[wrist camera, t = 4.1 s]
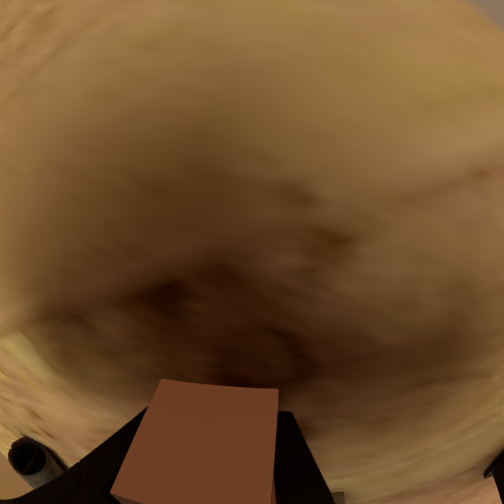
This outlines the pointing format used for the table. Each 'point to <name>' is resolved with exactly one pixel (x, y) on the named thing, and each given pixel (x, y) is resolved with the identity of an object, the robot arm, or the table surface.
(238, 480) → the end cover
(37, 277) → the table surface
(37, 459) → the metal pipe
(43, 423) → the table surface
